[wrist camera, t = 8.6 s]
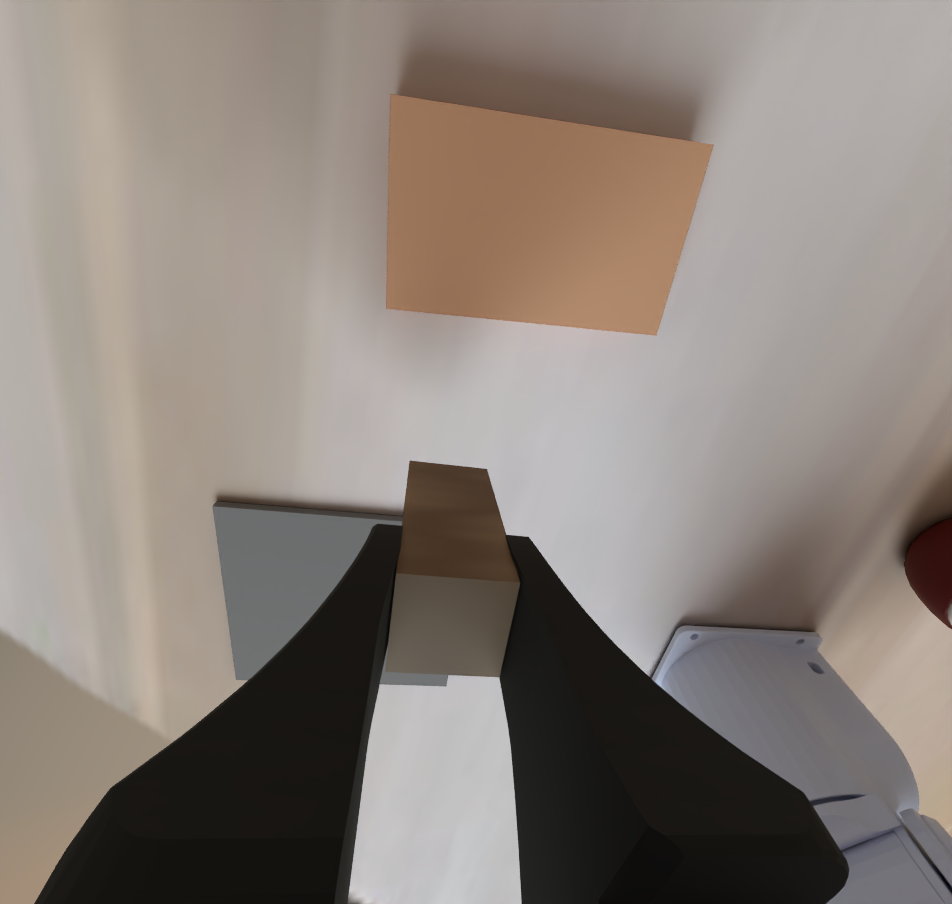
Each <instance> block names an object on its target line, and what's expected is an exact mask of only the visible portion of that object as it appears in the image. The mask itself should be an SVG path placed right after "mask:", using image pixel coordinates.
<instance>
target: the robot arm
mask: <svg viewBox="0 0 952 904" xmlns="http://www.w3.org/2000/svg"><path fill="white" fill-rule="evenodd" d="M402 531H403V526H399V525H388V524H376V525H375V526H373V527H372V529H371V531H370V534H369V536H368V538H367V540H366V542H365V543H364V545H363V547H362V549H361V550H360V552H359V553H358V555H357V557H356V558H355V560H354V561H353V563H352V564H351V566H350V567H349V569H348V570H347V571H346V573H345V574H344V576H343V577H342V579H341V580H340V581H339V583H338V584H337V586H336V587H335V588H334V589H333V591H332V592H331V593H330V594H329V596H328V597H327V598H326V599H325V601H324V602H323V603H322V604H321V606H320V607H319V608H318V609H317V611H316V612H315V613H314V614H313V615H312V616H311V618H310V619H309V620H308V621H307V622H306V623H305V624H304V626H303V627H302V628H301V629H300V630H299V631H298V632H297V633H296V634H295V635H294V636H293V637H292V638H291V639H290V641H289V642H288V643H287V644H286V645H285V646H284V647H283V648H282V649H281V650H280V651H279V652H278V653H277V654H276V655H275V656H274V657H273V658H271V659H270V660H269V661H268V662H267V663H266V664H265V665H264V666H263V667H262V668H261V669H260V670H259V671H258V672H257V673H256V674H255V675H254V676H253V677H251V678H250V679H249V680H248V681H247V682H246V683H245V684H244V685H243V686H241V687H240V688H239V689H238V690H237V691H236V692H234V693H233V694H232V695H231V696H230V697H228V698H227V699H226V700H225V701H224V702H222V703H221V704H220V705H219V706H218V707H216V708H215V709H214V710H213V711H212V712H210V713H209V714H208V715H207V716H206V717H204V718H203V719H202V720H201V721H200V722H198V723H197V724H196V725H195V726H194V727H192V728H191V729H190V730H188V731H187V732H186V733H185V734H183V735H182V736H181V737H179V738H178V739H177V740H175V741H174V742H173V743H171V744H170V745H169V746H167V747H166V748H165V749H163V750H162V751H161V752H159V753H158V754H156V755H155V756H154V757H152V758H151V759H150V760H148V761H147V762H145V763H144V764H143V765H141V766H140V767H139V768H137V769H136V770H135V771H133V772H132V773H130V774H129V775H128V776H127V777H125V778H124V779H122V780H121V781H119V782H118V783H117V784H115V785H114V786H113V787H112V788H110V790H109V791H108V792H107V793H106V795H105V796H104V797H103V799H102V800H101V802H100V803H99V804H98V805H97V807H96V808H95V810H94V811H93V812H92V814H91V815H90V816H89V818H88V819H87V820H86V822H85V823H84V825H83V827H82V828H81V830H80V831H79V832H78V834H77V835H76V836H75V838H74V839H73V840H72V842H71V843H70V845H69V846H68V848H67V849H66V851H65V852H64V854H63V856H62V857H61V859H60V860H59V862H58V864H57V865H56V867H55V869H54V871H53V872H52V874H51V876H50V877H49V879H48V881H47V883H46V885H45V886H44V888H43V890H42V891H41V893H40V895H39V897H38V898H37V900H36V902H35V903H34V904H347V902H348V894H349V886H350V878H351V870H352V862H353V854H354V847H355V839H356V831H357V823H358V815H359V808H360V800H361V792H362V784H363V776H364V769H365V761H366V753H367V746H368V739H369V734H370V728H371V722H372V717H373V713H374V708H375V703H376V699H377V694H378V689H379V685H380V680H381V675H382V670H383V666H384V661H385V656H386V652H387V647H388V641H389V632H390V623H391V614H392V605H393V596H394V587H395V578H396V570H397V562H398V556H399V553H400V548H401V539H402ZM505 537H506V540H507V544H508V547H509V550H510V554H511V557H512V560H513V562H514V565H515V567H516V569H517V573H518V576H519V580H520V587H519V591H518V596H517V600H516V605H515V609H514V614H513V618H512V623H511V627H510V632H509V636H508V641H507V645H506V650H505V655H504V659H503V664H502V668H501V673H500V683H501V689H502V694H503V700H504V706H505V711H506V717H507V722H508V729H509V736H510V744H511V753H512V765H513V777H514V789H515V802H516V816H517V830H518V845H519V862H520V880H521V898H522V904H952V838H951V836H950V835H949V834H948V833H947V832H946V830H945V829H944V828H943V827H942V826H941V825H940V823H939V822H938V821H937V820H935V819H933V818H930V817H928V816H925V815H920V814H919V813H918V810H919V793H918V788H917V784H916V781H915V778H914V775H913V772H912V770H911V768H910V765H909V763H908V761H907V759H906V758H905V756H904V754H903V752H902V751H901V749H900V748H899V746H898V745H897V743H896V742H895V741H894V739H893V738H892V737H891V736H890V734H889V733H888V732H887V731H886V730H885V729H884V727H883V726H882V725H881V724H880V723H879V722H878V721H877V719H876V718H875V717H874V716H873V715H872V714H871V712H870V711H869V710H868V709H867V708H866V707H865V705H864V704H863V703H862V702H861V701H860V700H859V698H858V697H857V696H856V695H855V694H854V693H853V691H852V690H851V689H850V688H849V687H848V686H847V684H846V683H845V682H844V681H843V680H842V679H841V677H840V676H839V675H838V674H837V673H836V672H835V670H834V669H833V668H832V667H831V666H830V665H829V664H828V662H827V661H826V660H825V659H824V658H823V657H822V655H821V654H820V653H819V652H818V651H817V650H816V649H817V648H818V647H819V645H820V644H821V642H822V638H821V637H820V636H819V634H818V633H815V632H798V631H780V630H761V629H742V628H723V627H705V626H681V627H679V628H678V629H677V630H676V632H675V634H674V636H673V638H672V640H671V642H670V644H669V646H668V648H667V650H666V652H665V654H664V656H663V658H662V660H661V662H660V664H659V666H658V667H657V669H656V671H655V673H654V675H653V677H652V679H651V678H650V677H649V676H648V675H647V674H645V673H644V672H643V671H642V670H641V669H640V668H639V667H638V666H637V665H636V664H635V663H634V662H633V661H632V660H631V659H630V658H629V657H628V656H627V655H626V654H625V653H624V652H623V651H622V650H621V649H619V648H618V647H617V646H616V645H615V644H614V642H613V641H612V640H611V639H610V638H609V637H608V636H607V635H606V634H605V633H604V632H603V631H602V630H601V629H600V627H599V626H598V625H597V624H596V623H595V622H594V621H593V619H592V618H591V617H590V616H589V615H588V614H587V613H586V612H585V610H584V609H583V608H582V607H581V606H580V604H579V603H578V602H577V601H576V599H575V598H574V597H573V596H572V594H571V593H570V592H569V590H568V589H567V588H566V587H565V585H564V584H563V583H562V581H561V580H560V579H559V578H558V576H557V575H556V573H555V572H554V571H553V569H552V568H551V567H550V565H549V564H548V563H547V561H546V560H545V558H544V557H543V556H542V554H541V553H540V552H539V550H538V549H537V547H536V546H535V545H534V543H533V542H532V541H531V539H530V538H529V537H523V536H512V535H505Z"/></svg>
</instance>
